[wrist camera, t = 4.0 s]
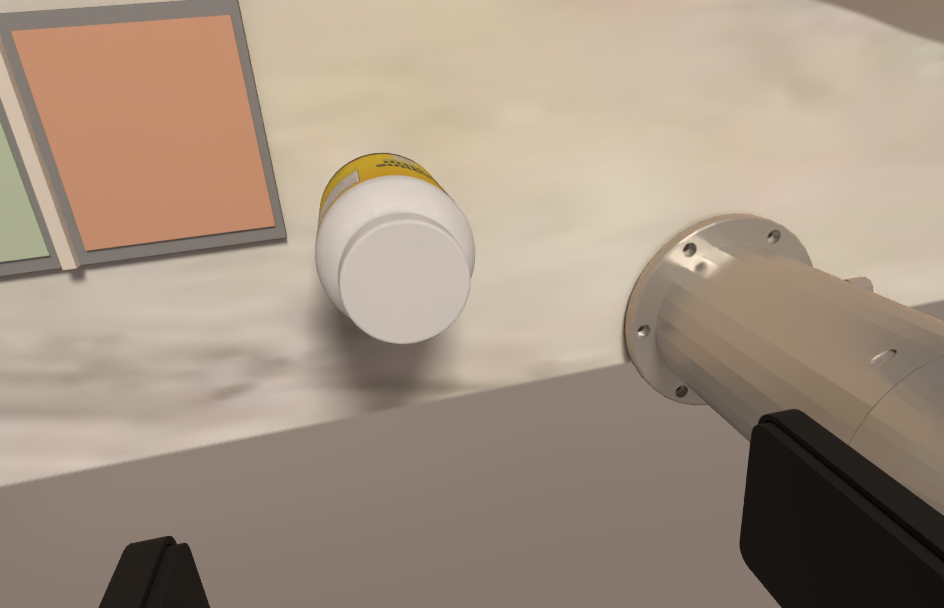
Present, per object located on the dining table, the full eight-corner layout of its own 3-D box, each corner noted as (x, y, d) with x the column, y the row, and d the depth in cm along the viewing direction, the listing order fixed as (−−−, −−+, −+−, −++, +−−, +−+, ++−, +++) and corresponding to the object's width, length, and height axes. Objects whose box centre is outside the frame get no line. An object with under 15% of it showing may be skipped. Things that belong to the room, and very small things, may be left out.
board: (237, -3, 27) (234, -5, 26) (286, 235, 31) (285, 239, 30) (-293, 35, 24) (-315, 33, 23) (-158, 295, 28) (-173, 301, 27)
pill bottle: (464, 231, 33) (526, 309, 23) (363, 293, 33) (379, 399, 23) (402, 125, 31) (440, 157, 20) (293, 192, 31) (273, 259, 20)
